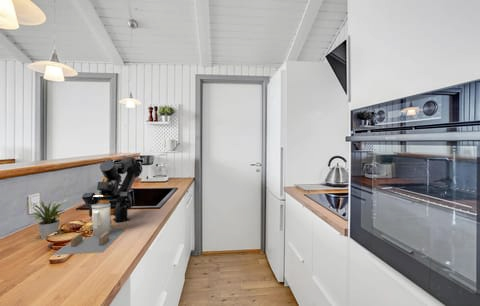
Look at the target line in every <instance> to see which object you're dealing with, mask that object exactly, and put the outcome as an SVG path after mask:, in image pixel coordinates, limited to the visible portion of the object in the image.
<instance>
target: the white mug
mask: <svg viewBox="0 0 480 306" xmlns="http://www.w3.org/2000/svg"><path fill="white" fill-rule="evenodd" d="M110 206H111V204H110V203H99V202H97V203H96V204H94V205H92V216H91V219H92V220H91V221H92V223H91V225H92V230H93V236H95V237H100V236H101V235H102V234H104V233H105V232H109V234H110V233H111V229H112V227H111V215H110Z"/></svg>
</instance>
